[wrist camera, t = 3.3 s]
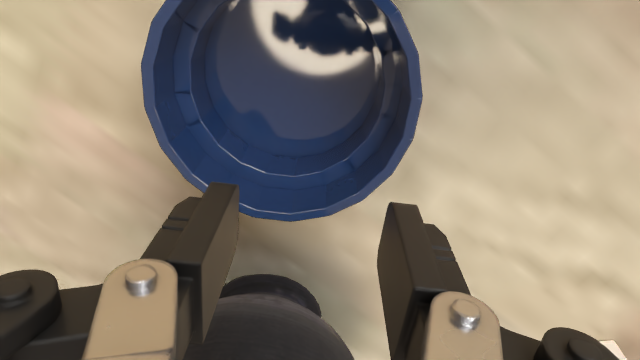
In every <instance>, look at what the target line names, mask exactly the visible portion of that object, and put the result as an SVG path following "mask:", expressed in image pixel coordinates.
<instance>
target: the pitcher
mask: <svg viewBox="0 0 640 360" xmlns="http://www.w3.org/2000/svg"><path fill="white" fill-rule="evenodd" d="M183 360H354V358H353V356H352V354H351V353H350V351H349V349H348V348H347V346H346V345H345V343H344V342H343V340H342V339H341V338H340V336H339V335H338V334H337V333H336V331H335V330H334V329H333V328H332V327H331V326H330V325H329V324H327V323H326V322H325V321H324V320H323V319H322V318H321V311H320V308H319V304H318V303H317V301H316V299H315V298H314V296H313V295H312V294H311V293H310V292H309V291H308V290H307V289H306V288H305V287H303V286H302V285H301V284H299V283H297V282H295V281H293V280H291V279H289V278H286V277H282V276H277V275H271V274H258V275H247V276H242V277H239V278H237V279H234V280H232V281H231V282H229V283H228V284H226V285H225V286H224V287H223V288H222V291H221V294H220V297H219V300H218V303H217V305H216V308H215V311H214V314H213V317H212V320H211V323H210V326H209V328H208V331H207V334H206V337H205V340H204V343H203V345H197V344H189V345H188V347H187V350H186V353H185V355H184V358H183Z"/></svg>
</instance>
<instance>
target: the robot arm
mask: <svg viewBox="0 0 640 360" xmlns="http://www.w3.org/2000/svg"><path fill="white" fill-rule="evenodd" d="M238 222H239V185H238V184H229V183H220V182H211V183H210V184H209V186H208V188H207V189H206V191H205V193H204V195H203V196H202V198H197V197H189V198H187V199H185V200H184V201H182V202H181V203H179V204H177V205H176V206H175V207H174V209H173V210H172V212H171V213H170V215H169V216H168V219H166V221H165V222H164V224H163V225H162V229H161V228H160V230H159V231H158V233H157V234H156V236H155V237H154V239H153V240H152V242H151V243H150V245H149V246H148V248H147V249H146V251H145V252H144V254H143V255H142V257H141V258H140V259H139V260H134V261H130V262H127V263H125V264H123V265H121V266H119V267H117V268H116V269H114V270H113V271H112V272H111V273H110V274H109V275H108V276H107V277H106V279H105V281H104V283H103V284H100V285H95V286H88V287H80V288H71V289H62V290H59V287H58V283H57V280H56V278H55V277H54V276H53V275H52V274H50V273H48V272H45V271H41V270H21V271H15V272H11V273H7V274H4V275H1V276H0V360H183V358H184V355H185V353H186V350H187V347H188V345H189V344H197V345H203V343H204V340H205V337H206V334H207V331H208V328H209V326H210V323H211V320H212V317H213V314H214V311H215V308H216V305H217V303H218V300H219V297H220V294H221V291H222V288H223V285H224V282H225V280H226V277H227V274H228V271H229V268H230V265H231V262H232V260H233V257H234V254H235V250H236V245H237V239H238ZM377 269H378V276H379V283H380V289H381V296H382V303H383V309H384V316H385V323H386V330H387V336H388V343H389V350H390V356H391V360H620V359H618V358H617V357H616V356H615V355H614V354H613V353H612V352H611V351H610V350H609V349H608V348H607V347H605V346H604V345H603V344H601V343H600V342H599V341H597V340H596V339H594V338H592V337H591V336H589V335H587V334H585V333H582V332H580V331H577V330H574V329H570V328H563V327H558V328H552V329H550V330H548V331H547V332H546V333H545V334H544V336H543V338H542V340H541V341H538V340H535V339H532V338H529V337H527V336H524V335H521V334H518V333H515V332H512V331H510V330H507V329H505V328H503V327H501V326H500V324H499V320H498V318H497V316H496V315H495V313H494V312H493V311H492V310H491V308H489V307H488V306H487V305H486V304H485V303H483V302H482V301H480V300H479V299H477V298H475V297H473V296H471V294H470V292H469V289H468V287H467V285H466V282H465V280H464V277H463V275H462V273H461V270H460V268H459V266H458V263H457V262H456V261H455V256H454V254H453V252H452V251H451V247H450V245H449V242H448V240H447V237H446V236H445V235H444V234H443V233H442V232H441V231H440V230H439V229H438V228H437V227H436V226H435V225H434V224H425V223H423V220H422V217H421V215H420V212H419V209H418V207H417V205H411V204H402V203H394V202H390V203H389V205H388V208H387V212H386V217H385V221H384V226H383V230H382V235H381V240H380V244H379V249H378V258H377Z"/></svg>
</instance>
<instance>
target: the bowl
mask: <svg viewBox="0 0 640 360" xmlns="http://www.w3.org/2000/svg"><path fill="white" fill-rule="evenodd" d="M141 64H142V65H141V72H142V84H143V97H144V107H145V110H146V113H147V115H148V118H149V120H150V123H151V125H152V128H153V130H154V133H155V135H156V138H157V140H158V143H159V145H160V147H161V149H162V150H163V151H164V153H165V154H166V155H167V156H168V158H169V159H170V160H171V162H172V163H173V164H174V165H175V167H176V168H177V169H178V170H179V172H180V173H181V174H182V176H183V177H184V178H185V179H186V180H187V181H188V182H190V183H191V184H192V185H194V186H195V187H196V188H198V189H199V190H200V191H202V192H203V193H205V191H206V189H207V188H208V186H209V184H210V183H211V182H220V183H229V184H238V185H239V212H241V213H244V214H246V215H249V216H251V217H255V218H263V219H272V220H281V221H290V222H291V221H300V220H306V219H312V218H319V217H325V216H330V215H332V214H334V213H337V212H339V211H341V210H343V209H345V208H347V207H349V206H352V205H354V204H356V203H358V202H360V201H362V200H363V199H365V198H366V197H367V196H368V195H369V194H371V193H372V192H373V191H374V190H375V189H376V188H377V187H378V186H380V185H381V184H382V183H383V182H384V181H385V180H386V179H387V178H389V177H390V176H391V175H392V174H393V172H394V171H395V169H396V167H397V166H398V164H399V162H400V161H401V159H402V157H403V156H404V154H405V152H406V151H407V149H408V147H409V146H410V144H411V142H412V141H413V138H414V134H415V130H416V125H417V121H418V117H419V112H420V108H421V104H422V97H423V95H422V84H421V74H420V63H419V54H418V51H417V49H416V46H415V44H414V42H413V40H412V37H411V35H410V33H409V31H408V28H407V26H406V24H405V22H404V20H403V17H402V15H401V13H400V11H399V10H398V8H397V7H396V6H395V5H394V4H393V2H392V1H391V0H166V1H165V2H164V4H163V5H162V7H161V8H160V9H159V11H158V12H157V14H156V15H155V17H154V18H153V21H152V22H151V26H150V30H149V34H148V38H147V42H146V46H145V50H144V54H143V58H142V62H141Z"/></svg>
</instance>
